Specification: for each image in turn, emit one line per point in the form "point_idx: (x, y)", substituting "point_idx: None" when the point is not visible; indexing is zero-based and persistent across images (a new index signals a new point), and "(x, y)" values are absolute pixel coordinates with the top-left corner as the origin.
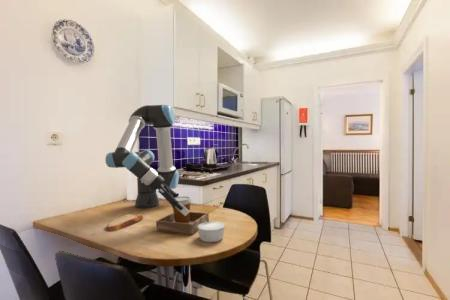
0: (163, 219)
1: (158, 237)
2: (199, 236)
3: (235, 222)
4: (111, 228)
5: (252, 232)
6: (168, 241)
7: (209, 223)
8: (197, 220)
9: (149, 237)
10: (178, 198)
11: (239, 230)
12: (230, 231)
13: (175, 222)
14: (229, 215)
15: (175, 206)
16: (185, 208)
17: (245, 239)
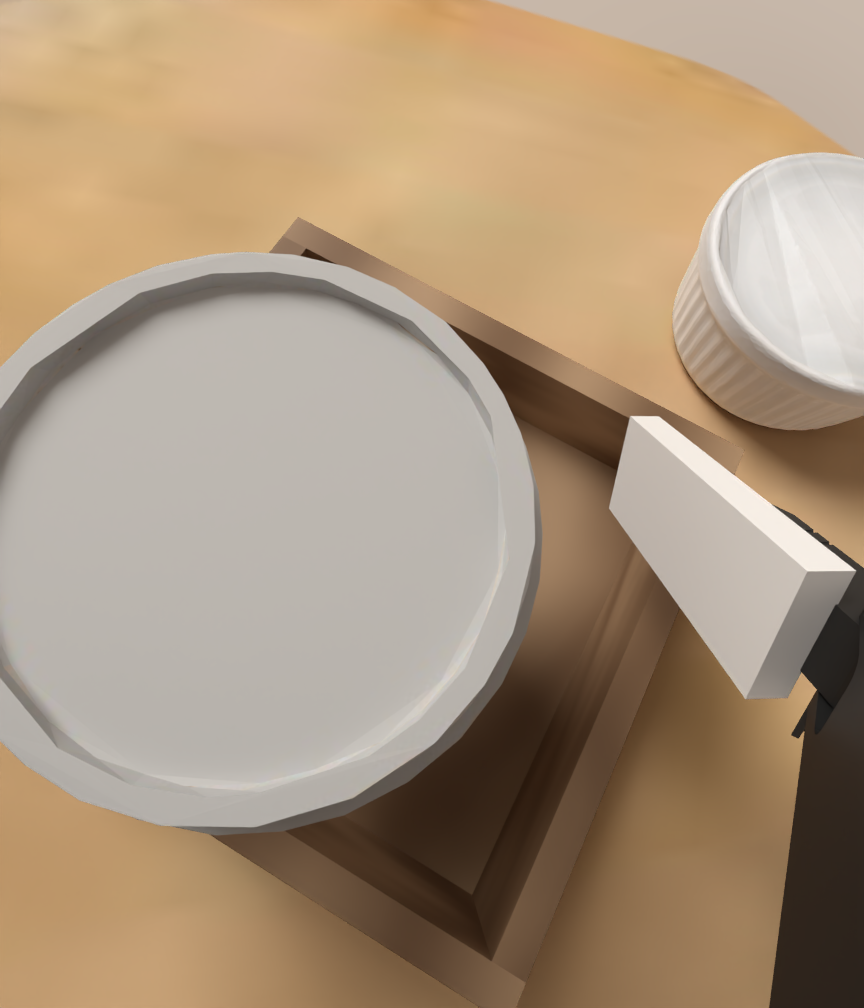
0: (383, 885)
1: (701, 871)
2: (795, 428)
3: (406, 93)
4: None
5: (679, 58)
6: None
7: (729, 273)
8: (596, 379)
9: (688, 1001)
10: (95, 586)
11: (620, 119)
12: (632, 181)
13: (633, 668)
14: (158, 82)
15: (783, 674)
16: (703, 462)
17: (811, 135)
